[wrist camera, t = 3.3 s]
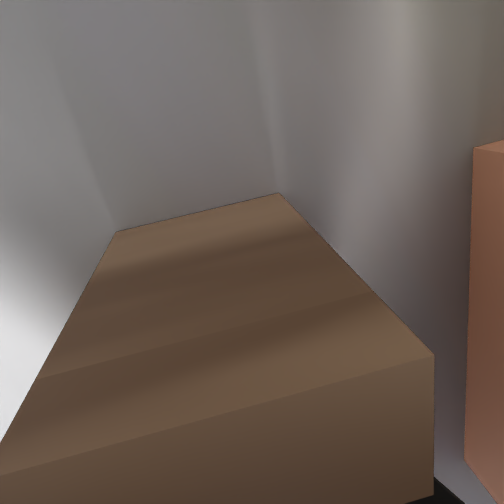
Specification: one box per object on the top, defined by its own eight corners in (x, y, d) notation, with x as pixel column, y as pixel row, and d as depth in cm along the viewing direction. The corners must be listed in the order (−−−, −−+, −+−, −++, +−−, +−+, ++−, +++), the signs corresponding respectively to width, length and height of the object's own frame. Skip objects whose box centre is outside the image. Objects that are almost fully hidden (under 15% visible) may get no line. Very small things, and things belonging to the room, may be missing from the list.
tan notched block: (115, 232, 9) (-21, 481, 3) (279, 193, 9) (434, 354, 3) (228, 530, 14) (257, 839, 8) (332, 499, 14) (431, 777, 8)
